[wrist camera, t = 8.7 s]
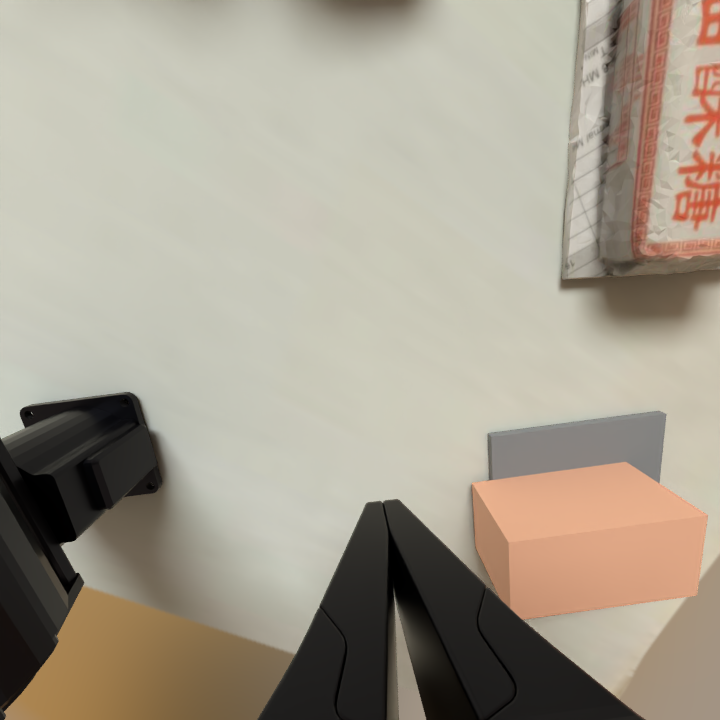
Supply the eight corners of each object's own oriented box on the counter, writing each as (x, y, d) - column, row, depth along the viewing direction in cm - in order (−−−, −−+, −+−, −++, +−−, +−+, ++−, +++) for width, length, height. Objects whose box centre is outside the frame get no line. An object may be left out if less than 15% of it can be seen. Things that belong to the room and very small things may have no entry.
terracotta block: (511, 621, 18) (696, 595, 18) (508, 542, 16) (707, 515, 17) (475, 547, 22) (621, 527, 23) (471, 482, 21) (626, 461, 21)
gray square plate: (492, 574, 24) (495, 580, 23) (487, 433, 21) (491, 436, 21) (645, 553, 24) (651, 559, 23) (658, 411, 21) (666, 414, 21)
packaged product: (835, 265, 15) (616, 281, 15) (719, 268, 20) (552, 280, 20) (986, -314, 11) (682, -299, 11) (792, -133, 15) (579, -122, 15)
